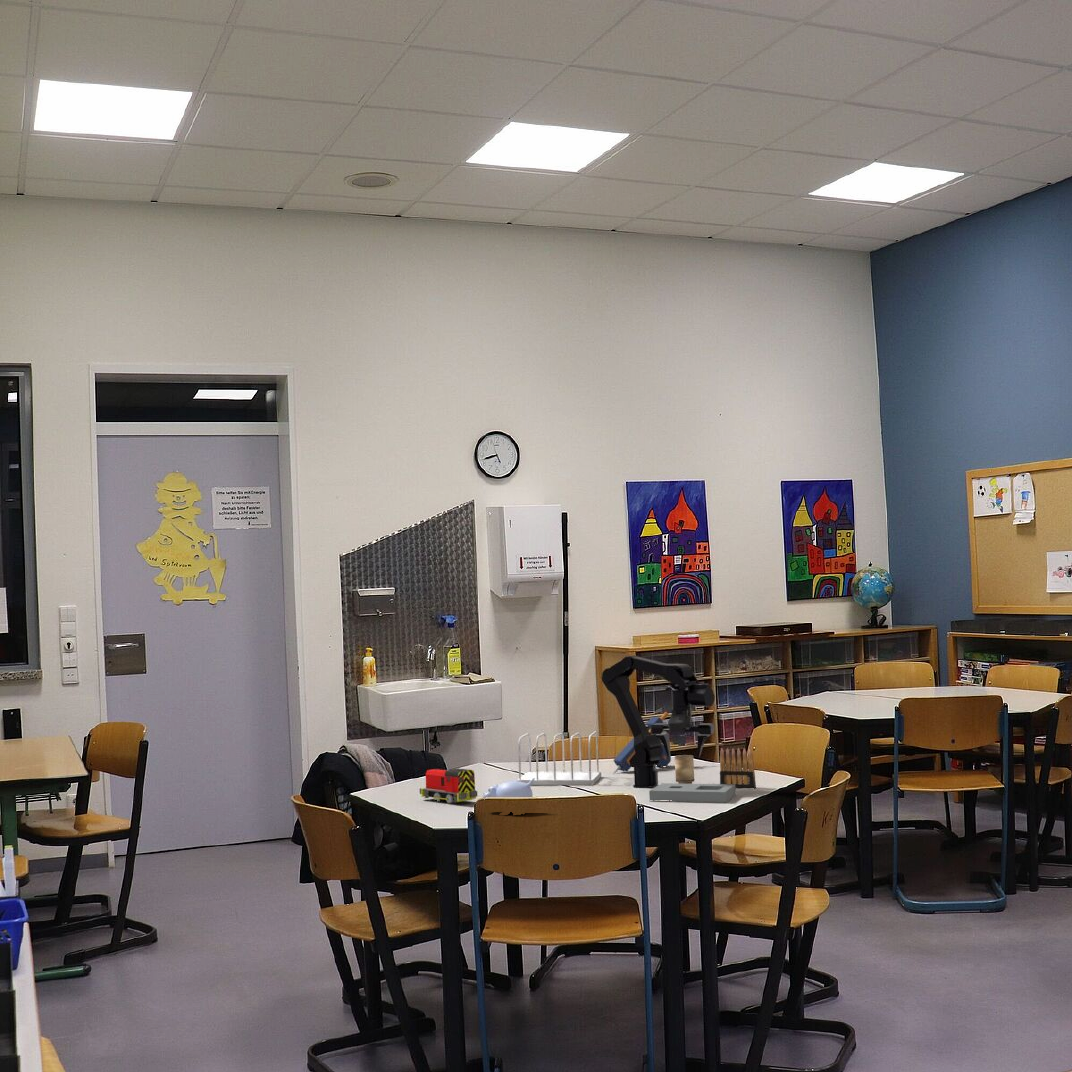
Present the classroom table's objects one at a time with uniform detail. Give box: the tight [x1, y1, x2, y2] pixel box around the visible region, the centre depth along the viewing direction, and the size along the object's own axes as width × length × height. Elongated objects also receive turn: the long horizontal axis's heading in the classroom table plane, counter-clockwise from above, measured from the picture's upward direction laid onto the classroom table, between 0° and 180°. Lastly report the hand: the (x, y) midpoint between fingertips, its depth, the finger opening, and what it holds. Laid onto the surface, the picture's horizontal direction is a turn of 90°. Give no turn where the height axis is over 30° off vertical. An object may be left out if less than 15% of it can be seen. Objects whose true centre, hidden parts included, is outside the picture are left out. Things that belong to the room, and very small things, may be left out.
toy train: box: [419, 767, 478, 804], centre depth 351 cm, size 7×19×10 cm, turn 44°
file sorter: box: [516, 730, 602, 786], centre depth 383 cm, size 25×17×16 cm
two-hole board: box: [649, 782, 737, 804], centre depth 339 cm, size 22×14×3 cm, turn 69°
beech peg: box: [674, 754, 695, 784], centre depth 355 cm, size 6×6×10 cm
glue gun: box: [613, 711, 672, 775], centre depth 403 cm, size 6×31×15 cm
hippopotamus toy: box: [482, 778, 535, 799], centre depth 328 cm, size 11×15×10 cm
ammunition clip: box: [719, 747, 757, 789], centre depth 355 cm, size 11×2×12 cm, turn 65°
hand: (683, 757), depth 356 cm, fingers open, 9 cm apart
